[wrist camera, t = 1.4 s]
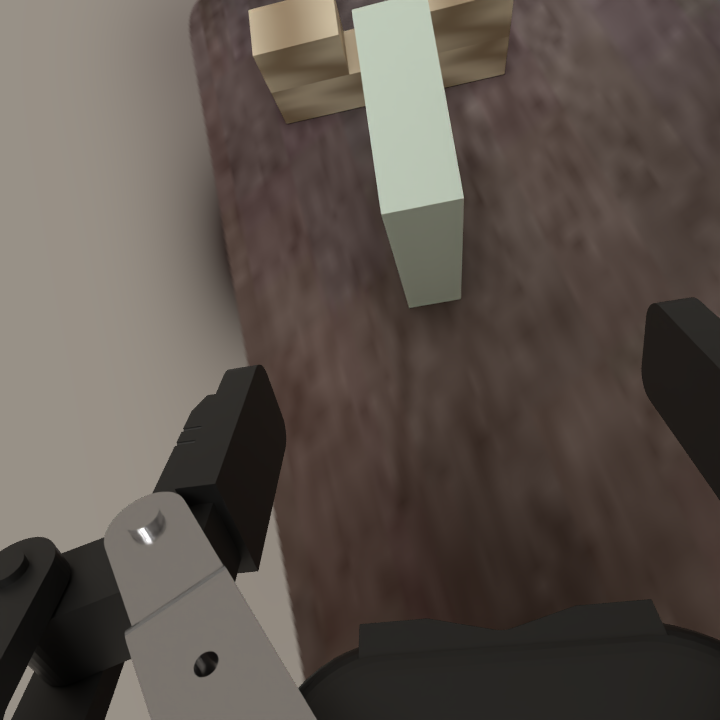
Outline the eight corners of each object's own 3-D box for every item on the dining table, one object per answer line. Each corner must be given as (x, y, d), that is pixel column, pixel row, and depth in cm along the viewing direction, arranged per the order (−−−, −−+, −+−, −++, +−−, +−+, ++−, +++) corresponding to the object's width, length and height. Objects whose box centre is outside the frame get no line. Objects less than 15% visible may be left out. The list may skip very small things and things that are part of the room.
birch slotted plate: (495, 33, 33) (504, -58, 28) (504, 74, 33) (514, -10, 27) (282, 84, 36) (248, 10, 30) (286, 123, 35) (252, 56, 29)
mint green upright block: (388, 169, 33) (351, 9, 21) (436, 159, 33) (426, -10, 21) (409, 307, 31) (381, 214, 19) (460, 299, 31) (464, 197, 19)
